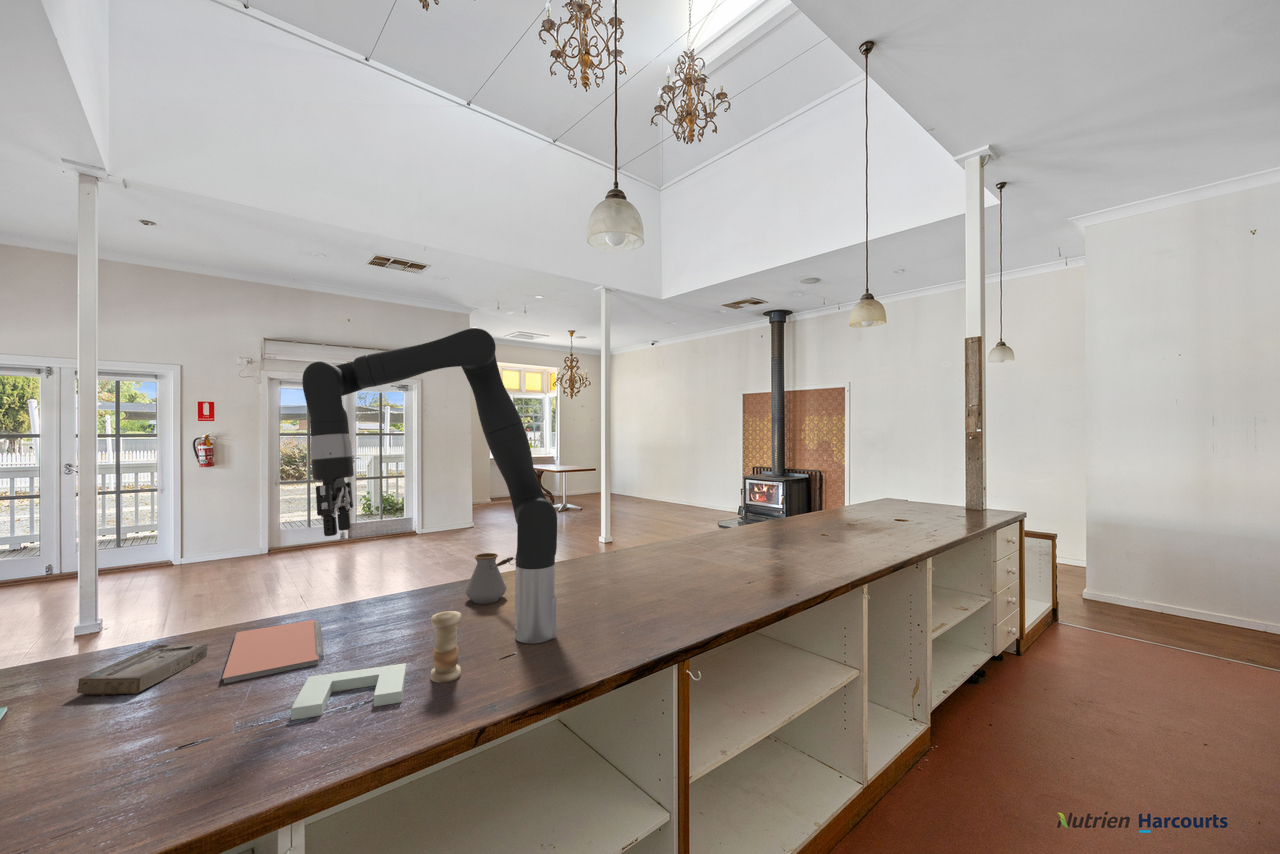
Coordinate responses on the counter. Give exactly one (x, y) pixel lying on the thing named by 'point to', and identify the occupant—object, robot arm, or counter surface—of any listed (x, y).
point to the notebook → (273, 650)
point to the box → (142, 669)
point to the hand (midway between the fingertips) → (338, 532)
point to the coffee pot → (487, 579)
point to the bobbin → (445, 647)
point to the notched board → (322, 686)
